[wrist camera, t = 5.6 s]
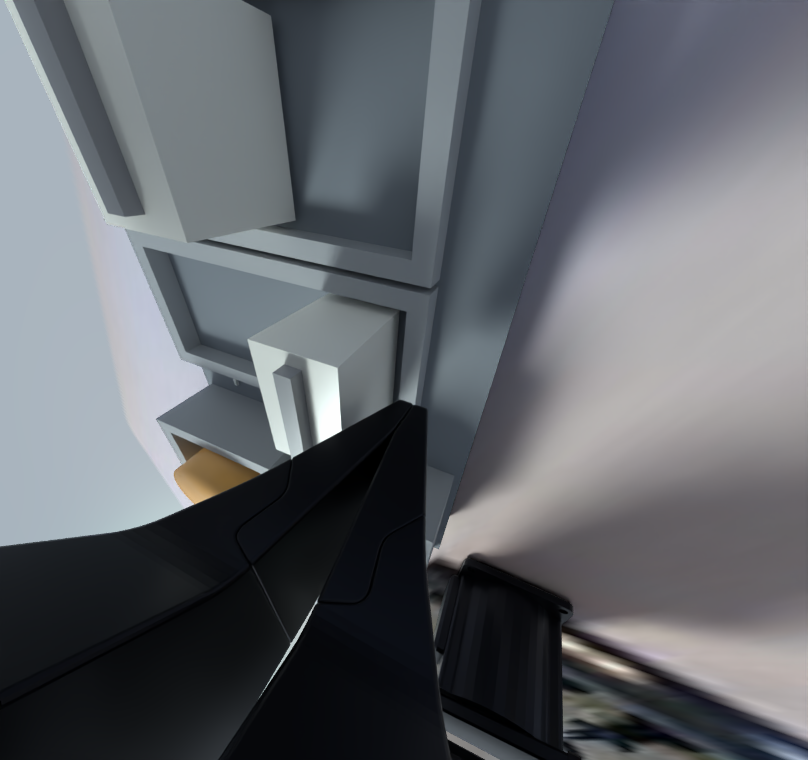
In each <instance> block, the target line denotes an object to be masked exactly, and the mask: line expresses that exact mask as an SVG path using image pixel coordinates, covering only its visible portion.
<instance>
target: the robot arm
mask: <svg viewBox="0 0 808 760" xmlns="http://www.w3.org/2000/svg"><path fill="white" fill-rule="evenodd" d="M427 443H428V409H427V408H425V407H422V406H419V405H413V404H412V403H410V402H407V401H404V400H397V401H396V402H394V403H392V404H390V405H388V406H386V407H384V408H383V409H381V410H379V411H377V412H375V413H373V414H372V415H370V416H368V417H366V418H364V419H362V420H361V421H359V422H357V423H355V424H353V425H351V426H350V427H348V428H346V429H344V430H342V431H340V432H339V433H337V434H335V435H333V436H331V437H329V438H327V439H326V440H324V441H322V442H320V443H318V444H316V445H315V446H313V447H311V448H309V449H307V450H305V451H304V452H302V453H300V454H298V455H296V456H294V457H293V458H292V460H291V459H289V460H287V461H285V462H283V463H281V464H279V465H278V466H276V467H274V468H272V469H270V470H268V471H266V472H264V473H262V474H260V475H258V476H256V477H254V478H252V479H250V480H248V481H246V482H244V483H241V484H239V485H237V486H235V487H233V488H231V489H228V490H226V491H224V492H222V493H219V494H217V495H215V496H212V497H210V498H208V499H206V500H203V501H201V502H199V503H197V504H194V505H192V506H190V507H187V508H185V509H183V510H181V511H178V512H176V513H174V514H172V515H169V516H167V517H165V518H162V519H159V520H157V521H155V522H152V523H149V524H146V525H143V526H140V527H136V528H132V529H128V530H123V531H119V532H113V533H105V534H97V535H89V536H81V537H74V538H65V539H57V540H49V541H41V542H33V543H25V544H17V545H9V546H1V547H0V760H485V759H483V758H481V757H479V756H477V755H476V754H474V753H472V752H470V751H468V750H466V749H464V748H463V747H461V746H459V745H457V744H455V743H453V742H452V741H450V740H448V739H447V735H446V731H447V732H449V733H451V734H453V735H455V736H457V737H459V738H460V739H462V740H464V741H466V742H468V743H470V744H472V745H474V746H476V747H478V748H479V749H481V750H483V751H485V752H487V753H489V754H491V755H492V756H494V757H496V758H498V759H500V760H581V757H580V756H578V755H576V754H574V753H572V752H570V751H568V753H566V752H564V751H563V705H562V633H561V625H562V624H563V623H564V622H565V621H567V620H568V619H569V618H570V617H572V616H573V606H572V604H570V603H569V602H567V601H565V600H563V599H561V598H558V597H556V596H554V595H552V594H549V593H547V592H545V591H543V590H540V589H538V588H536V587H534V586H532V585H529V584H527V583H525V582H523V581H520V580H518V579H516V578H514V577H511V576H509V575H507V574H505V573H502V572H500V571H498V570H496V569H493V568H491V567H489V566H487V565H484V564H482V563H480V562H478V561H475V560H473V559H469V558H467V559H465V560H464V562H463V564H462V567H461V569H460V571H459V573H458V576H457V575H453V576H451V577H450V579H449V582H448V584H447V587H446V589H445V592H444V596H443V600H442V604H441V608H440V612H439V615H438V619H437V623H436V627H435V631H434V635H433V627H432V618H431V609H430V600H429V591H428V578H427V565H426V518H425V517H426V491H427ZM319 595H320V596H319ZM318 597H319V598H318ZM317 599H318V600H317ZM316 601H317V604H316V605H315V607H314V609H313V611H312V613H311V615H310V617H309V619H308V622H307V623H306V625H305V627H304V629H303V631H302V633H301V635H300V636H299V638H298V640H297V642H296V643H295V645H294V646H293V648H292V650H291V651H290V653H289V654H288V656H287V657H286V659H285V660H284V662H283V663H282V665H281V666H280V668H279V669H278V671H277V672H276V674H275V675H274V677H273V678H272V680H271V681H270V683H269V684H268V686H267V688H266V689H265V687H266V685H267V683H268V682H269V680H270V678H271V677H272V675H273V673H274V672H275V670H276V668H277V667H278V665H279V663H280V662H281V660H282V658H283V657H284V655H285V653H286V651H287V650H288V648H289V646H290V643H291V642H292V641H293V639H294V638H295V636H296V634H297V633H298V631H299V629H300V628H301V626H302V624H303V623H304V621H305V619H306V617H307V616H308V614H309V612H310V611H311V609H312V607H313V605H314V604H315V602H316ZM264 689H265V690H264ZM263 690H264V692H263ZM262 692H263V693H262ZM261 694H262V695H261ZM260 695H261V696H260ZM259 697H260V698H259ZM257 700H258V701H257Z"/></svg>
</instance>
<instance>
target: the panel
mask: <svg viewBox="0 0 808 760" xmlns="http://www.w3.org/2000/svg"><path fill="white" fill-rule="evenodd" d="M242 1H244V2H246V3H248V4H250V5H252V6H253V7H255V8H257V9H259V10H261V11H263V12H265V13H267V14H269V15H270V16H271V19H272V28H273V36H274V44H275V52H276V61H277V69H278V77H279V86H280V94H281V102H282V111H283V119H284V127H285V135H286V144H287V152H288V160H289V169H290V177H291V185H292V194H293V202H294V210H295V219H296V220H295V221H291V222H286V223H281V224H276V225H271V226H267V227H262V228H257V229H252V230H248V231H243V232H238V233H233V234H228V235H224V236H219V237H214V238H209V239H204V240H200V241H195V242H190V243H185V242H181V241H176V240H172V239H168V238H163V237H159V236H154V235H150V234H146V233H141V232H137V231H133V230H128V229H125V231H126V233H127V235H128V238H129V240H130V242H131V245H132V247H133V249H134V251H135V254H136V256H137V258H138V261H139V263H140V265H141V268H142V270H143V272H144V275H145V277H146V279H147V282H148V284H149V286H150V289H151V291H152V293H153V296H154V298H155V300H156V303H157V305H158V307H159V310H160V312H161V314H162V317H163V319H164V321H165V324H166V326H167V328H168V331H169V333H170V335H171V337H172V340H173V342H174V344H175V347H176V349H177V351H178V354H179V356H180V358H181V360H184V361H187V362H189V363H192V364H195V365H197V366H200V367H202V369H203V371H204V374H205V376H206V379H207V382H208V384H209V386H207V387H206V388H204V389H203V390H201V391H199V392H198V393H196V394H195V395H193V396H191V397H190V398H188V399H187V400H185V401H184V402H182V403H180V404H179V405H177V406H176V407H174V408H173V409H171V410H169V411H168V412H166V413H165V414H163V415H161V416H160V417H158V418H157V419H156V420H157V422H158V423H159V425H160V427H161V429H162V431H163V432H164V434H165V436H166V438H167V439H168V441H169V443H170V445H171V446H172V448H173V450H174V452H175V453H176V455H177V457H178V459H179V460H180V462H181V464H182V465H183V464H184V463H185V462H186V461H188V460H189V459H190V458H191V457H193V456H194V455H195V454H196V453H198V452H199V451H200V450H201V449H203V448H206V449H208V450H210V451H212V452H215V453H217V454H219V455H221V456H223V457H226V458H228V459H230V460H232V461H234V462H237V463H239V464H241V465H243V466H245V467H247V468H250V469H252V470H254V471H256V472H258V473H260V474H262V473H264V472H266V471H268V470H270V469H272V468H274V467H276V466H278V465H279V464H281V463H283V462H285V461H287V460H289V459H291V455H289V454H286V453H284V452H281V451H279V450H277V449H276V447H275V443H274V440H273V436H272V432H271V428H270V424H269V420H268V417H267V413H266V409H265V405H264V401H263V397H262V394H261V390H260V386H259V382H258V378H257V375H256V371H255V367H254V363H253V359H252V355H251V352H250V348H249V344H248V340H247V339H248V338H250V337H252V336H254V335H255V334H257V333H259V332H261V331H263V330H264V329H266V328H268V327H270V326H271V325H273V324H275V323H277V322H279V321H280V320H282V319H284V318H286V317H287V316H289V315H291V314H293V313H295V312H296V311H298V310H300V309H302V308H304V307H305V306H307V305H309V304H311V303H312V302H314V301H316V300H318V299H320V298H321V297H323V296H325V295H327V294H328V293H331V294H335V295H339V296H344V297H348V298H352V299H356V300H360V301H364V302H368V303H372V304H376V305H380V306H384V307H388V308H392V309H396V310H400V312H399V325H398V338H397V351H396V365H395V378H394V391H393V403H394V402H396V401H397V400H404V401H407V402H410V403H412V404H413V405H419V406H422V407H425V408H427V409H428V443H427V491H426V517H425V518H426V565H427V566H428V563H429V560H430V557H431V553H432V550H433V547H435V548H437V549H439V547H440V544H441V541H442V538H443V535H444V531H445V528H446V525H447V522H448V519H449V516H450V513H451V510H452V506H453V503H454V500H455V497H456V494H457V491H458V488H459V485H460V482H461V478H462V475H463V472H464V469H465V466H466V463H467V460H468V457H469V453H470V450H471V447H472V444H473V441H474V438H475V435H476V432H477V428H478V425H479V422H480V419H481V416H482V413H483V410H484V407H485V403H486V400H487V397H488V394H489V391H490V388H491V385H492V382H493V379H494V375H495V372H496V369H497V366H498V363H499V360H500V357H501V354H502V350H503V347H504V344H505V341H506V338H507V335H508V332H509V329H510V325H511V322H512V319H513V316H514V313H515V310H516V307H517V304H518V300H519V297H520V294H521V291H522V288H523V285H524V282H525V279H526V275H527V272H528V269H529V266H530V263H531V260H532V257H533V254H534V251H535V247H536V244H537V241H538V238H539V235H540V232H541V229H542V226H543V222H544V219H545V216H546V213H547V210H548V207H549V204H550V201H551V197H552V194H553V191H554V188H555V185H556V182H557V179H558V176H559V172H560V169H561V166H562V163H563V160H564V157H565V154H566V151H567V147H568V144H569V141H570V138H571V135H572V132H573V129H574V126H575V123H576V119H577V116H578V113H579V110H580V107H581V104H582V101H583V98H584V94H585V91H586V88H587V85H588V82H589V79H590V76H591V73H592V69H593V66H594V63H595V60H596V57H597V54H598V51H599V48H600V44H601V41H602V38H603V35H604V32H605V29H606V26H607V23H608V20H609V16H610V13H611V10H612V7H613V4H614V1H615V0H242ZM291 460H292V459H291Z"/></svg>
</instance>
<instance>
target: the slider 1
mask: <svg viewBox="0 0 808 760" xmlns="http://www.w3.org/2000/svg"><path fill="white" fill-rule="evenodd" d="M4 1H5V3H6V5H7V8H8V10H9V12H10V14H11V16H12V19H13V21H14V23H15V25H16V27H17V29H18V32H19V34H20V36H21V38H22V40H23V42H24V45H25V47H26V49H27V51H28V53H29V56H30V58H31V60H32V62H33V64H34V66H35V69H36V71H37V73H38V75H39V77H40V80H41V82H42V84H43V86H44V88H45V91H46V93H47V95H48V97H49V99H50V101H51V104H52V106H53V108H54V110H55V112H56V115H57V117H58V119H59V121H60V123H61V125H62V128H63V130H64V132H65V134H66V136H67V138H68V141H69V143H70V145H71V147H72V149H73V152H74V154H75V156H76V158H77V160H78V162H79V165H80V167H81V169H82V171H83V173H84V176H85V178H86V180H87V182H88V184H89V186H90V189H91V191H92V193H93V195H94V197H95V200H96V202H97V204H98V206H99V208H100V210H101V213H102V215H103V217H104V219H105V221H106V224H107V225H111V226H115V227H120V228H124V229H128V230H133V231H137V232H141V233H146V234H150V235H154V236H159V237H163V238H168V239H172V240H176V241H181V242H185V243H190V242H195V241H200V240H204V239H209V238H214V237H219V236H224V235H228V234H233V233H238V232H243V231H248V230H252V229H257V228H262V227H267V226H271V225H276V224H281V223H286V222H291V221H295V220H296V219H295V210H294V202H293V194H292V185H291V177H290V169H289V160H288V152H287V144H286V135H285V127H284V119H283V111H282V102H281V94H280V86H279V77H278V69H277V61H276V52H275V44H274V36H273V28H272V19H271V16H270V15H269V14H267V13H265V12H263V11H261V10H259V9H257V8H255V7H253V6H252V5H250V4H248V3H246V2H244V1H242V0H4Z"/></svg>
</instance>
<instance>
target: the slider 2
mask: <svg viewBox="0 0 808 760" xmlns="http://www.w3.org/2000/svg"><path fill="white" fill-rule="evenodd" d="M399 312H400V310H396V309H392V308H388V307H384V306H380V305H376V304H372V303H368V302H364V301H360V300H356V299H352V298H348V297H344V296H339V295H335V294H331V293H328V294H327V295H325V296H323V297H321V298H320V299H318V300H316V301H314V302H312V303H311V304H309V305H307V306H305V307H304V308H302V309H300V310H298V311H296V312H295V313H293V314H291V315H289V316H287V317H286V318H284V319H282V320H280V321H279V322H277V323H275V324H273V325H271V326H270V327H268V328H266V329H264V330H263V331H261V332H259V333H257V334H255V335H254V336H252V337H250V338H248V339H247V340H248V344H249V348H250V352H251V355H252V359H253V363H254V367H255V371H256V375H257V378H258V382H259V386H260V390H261V394H262V397H263V401H264V405H265V409H266V413H267V417H268V420H269V424H270V428H271V432H272V436H273V440H274V443H275V447H276V449H277V450H279V451H281V452H284V453H286V454H289V455H291V459H292V458H293V457H294V456H296V455H298V454H300V453H302V452H304V451H305V450H307V449H309V448H311V447H313V446H315V445H316V444H318V443H320V442H322V441H324V440H326V439H327V438H329V437H331V436H333V435H335V434H337V433H339V432H340V431H342V430H344V429H346V428H348V427H350V426H351V425H353V424H355V423H357V422H359V421H361V420H362V419H364V418H366V417H368V416H370V415H372V414H373V413H375V412H377V411H379V410H381V409H383V408H384V407H386V406H388V405H390V404H392V403H393V391H394V378H395V365H396V351H397V338H398V325H399Z"/></svg>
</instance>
